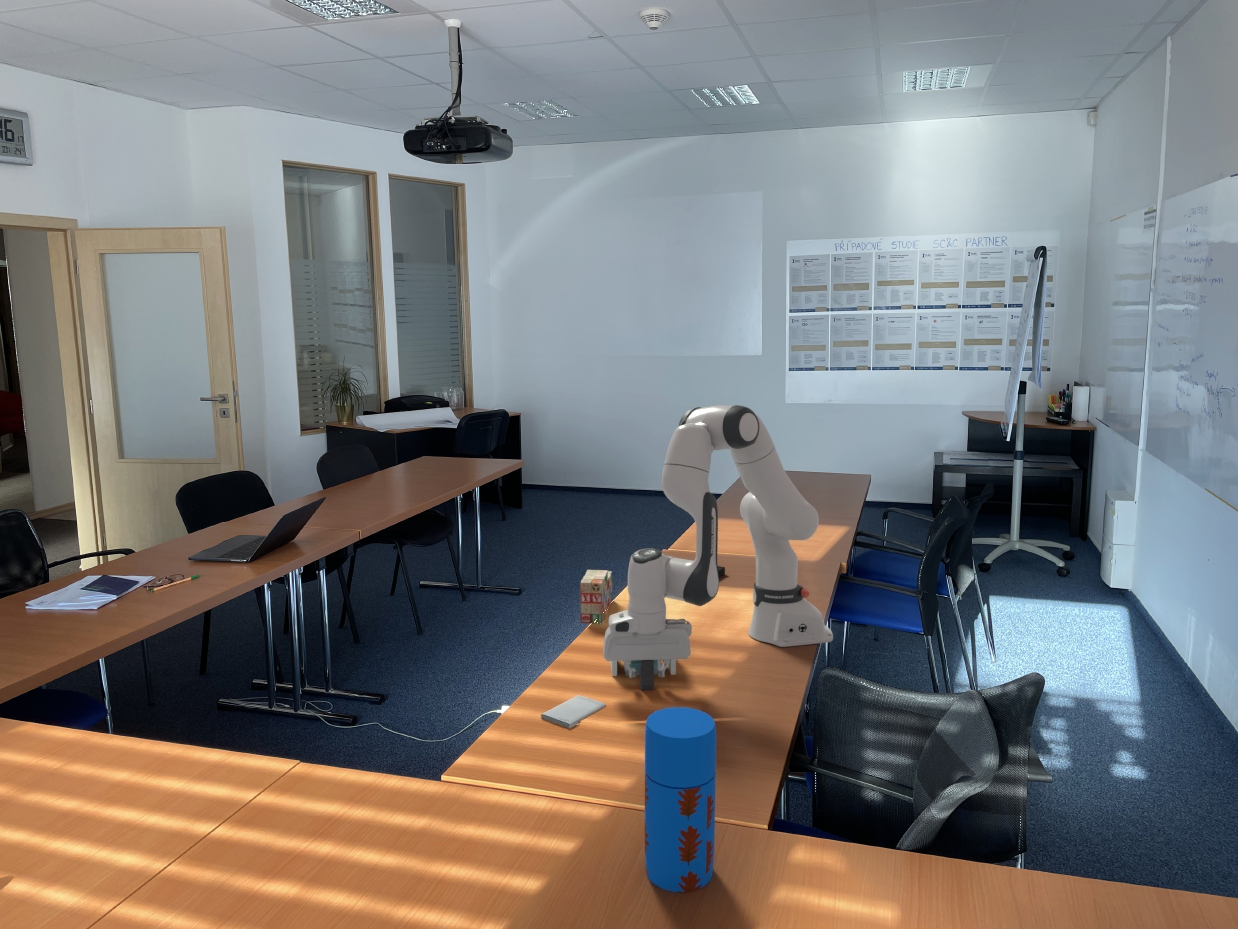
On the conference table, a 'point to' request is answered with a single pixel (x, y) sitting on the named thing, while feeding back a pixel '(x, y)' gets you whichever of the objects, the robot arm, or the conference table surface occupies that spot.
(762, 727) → the conference table surface
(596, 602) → the stack of blocks
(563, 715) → the hard drive
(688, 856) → the thermos
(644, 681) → the teal block with handle
